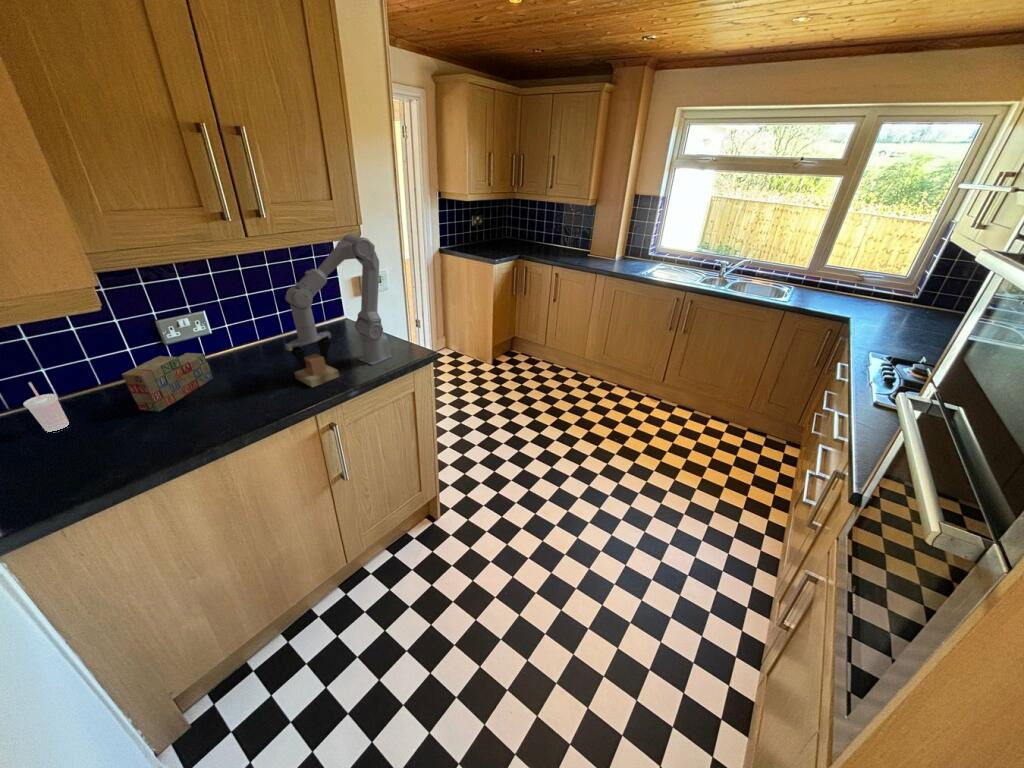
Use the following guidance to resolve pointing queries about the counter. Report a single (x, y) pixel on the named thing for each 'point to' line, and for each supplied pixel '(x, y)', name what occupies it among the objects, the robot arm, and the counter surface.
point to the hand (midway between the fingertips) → (314, 363)
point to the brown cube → (315, 364)
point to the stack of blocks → (166, 380)
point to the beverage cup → (47, 411)
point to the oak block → (316, 376)
